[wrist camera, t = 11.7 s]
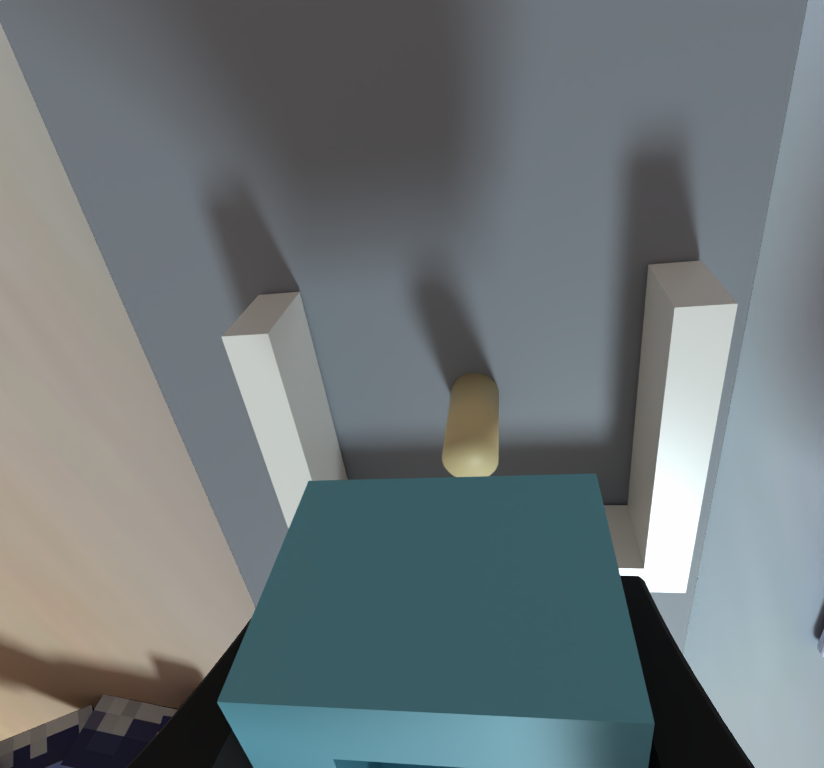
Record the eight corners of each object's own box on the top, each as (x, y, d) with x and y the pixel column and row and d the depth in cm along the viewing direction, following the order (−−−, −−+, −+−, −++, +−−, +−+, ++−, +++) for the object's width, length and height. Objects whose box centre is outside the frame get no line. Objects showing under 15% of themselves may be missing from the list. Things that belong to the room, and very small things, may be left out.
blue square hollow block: (595, 473, 9) (654, 724, 6) (589, 655, 12) (627, 904, 8) (308, 480, 10) (217, 702, 7) (359, 649, 13) (311, 870, 9)
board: (812, -153, 10) (961, -236, 7) (665, 690, 25) (691, 794, 21) (23, 3, 13) (-135, -3, 10) (297, 670, 28) (270, 758, 24)
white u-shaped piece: (701, 260, 14) (737, 303, 11) (664, 527, 18) (685, 593, 16) (258, 294, 16) (221, 336, 14) (327, 526, 20) (307, 583, 18)
